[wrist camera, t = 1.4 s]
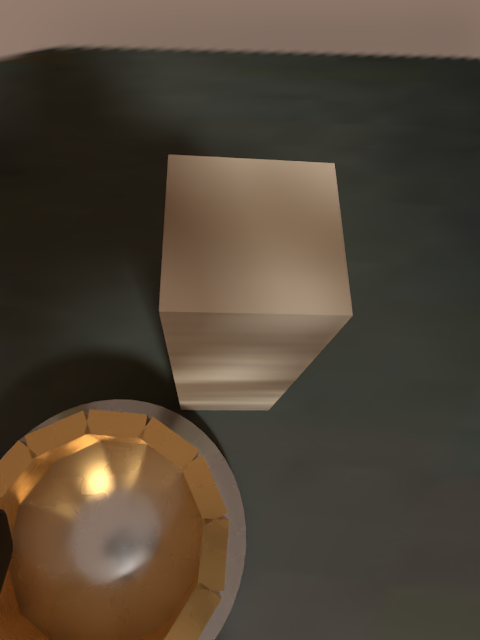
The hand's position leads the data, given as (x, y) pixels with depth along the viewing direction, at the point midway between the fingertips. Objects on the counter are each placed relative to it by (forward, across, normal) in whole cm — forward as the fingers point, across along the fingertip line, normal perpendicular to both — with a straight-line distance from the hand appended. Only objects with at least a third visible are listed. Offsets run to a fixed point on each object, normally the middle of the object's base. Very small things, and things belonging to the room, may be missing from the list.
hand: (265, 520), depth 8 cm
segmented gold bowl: (+9, +5, +10) cm, 14 cm away
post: (+14, 0, +5) cm, 15 cm away
